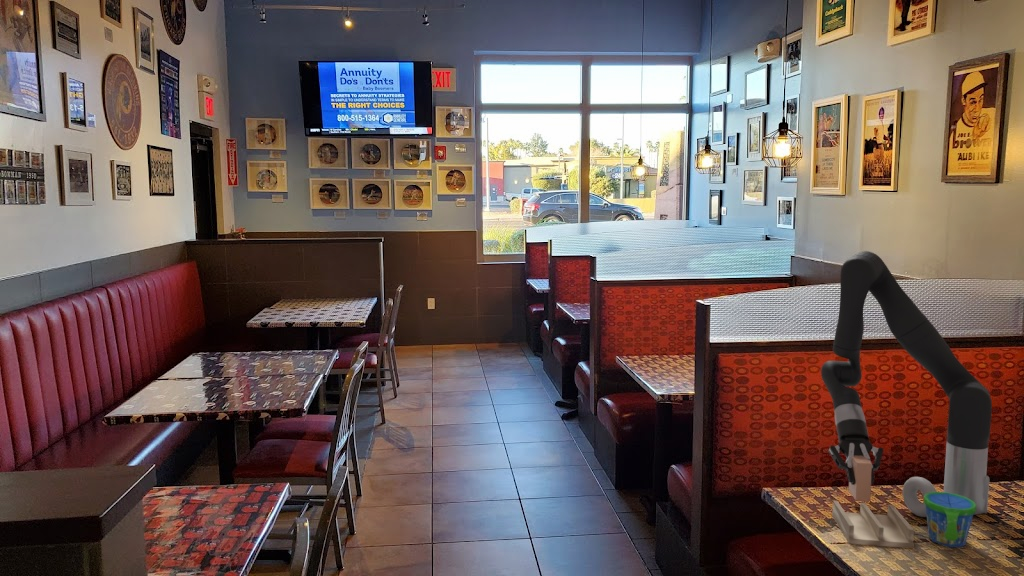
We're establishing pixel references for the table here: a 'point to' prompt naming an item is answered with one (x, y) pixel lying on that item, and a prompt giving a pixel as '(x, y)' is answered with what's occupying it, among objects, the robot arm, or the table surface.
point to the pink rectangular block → (861, 479)
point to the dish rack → (874, 527)
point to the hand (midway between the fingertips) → (862, 483)
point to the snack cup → (948, 518)
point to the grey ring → (911, 494)
